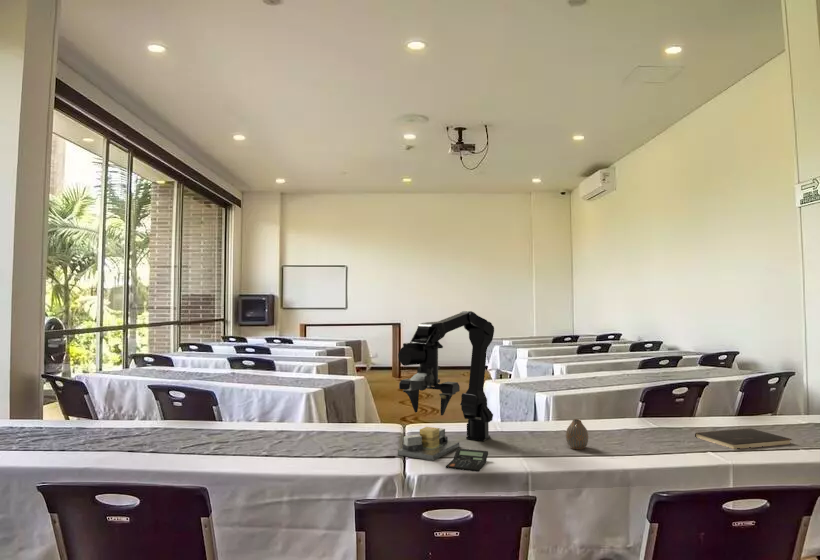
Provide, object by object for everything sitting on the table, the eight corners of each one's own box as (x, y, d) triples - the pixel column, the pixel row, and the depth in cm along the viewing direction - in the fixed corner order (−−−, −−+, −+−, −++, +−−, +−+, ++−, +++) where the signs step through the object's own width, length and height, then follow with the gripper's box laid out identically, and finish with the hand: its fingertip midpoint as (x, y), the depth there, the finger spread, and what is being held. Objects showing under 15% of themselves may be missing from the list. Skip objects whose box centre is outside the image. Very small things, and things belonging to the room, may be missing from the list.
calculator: (445, 469, 153) (445, 458, 153) (457, 458, 164) (457, 447, 164) (478, 472, 150) (478, 461, 150) (488, 461, 161) (488, 450, 161)
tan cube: (439, 444, 172) (439, 428, 172) (432, 447, 168) (432, 431, 168) (426, 442, 174) (426, 426, 175) (419, 445, 170) (419, 429, 171)
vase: (577, 452, 169) (576, 423, 170) (561, 446, 175) (560, 419, 176) (593, 449, 173) (593, 420, 173) (577, 444, 179) (577, 416, 179)
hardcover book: (791, 446, 178) (791, 438, 178) (733, 451, 172) (733, 443, 172) (749, 434, 193) (749, 427, 193) (694, 438, 187) (694, 432, 187)
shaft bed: (459, 446, 176) (459, 430, 176) (433, 460, 160) (433, 442, 160) (426, 442, 182) (426, 426, 182) (397, 455, 166) (397, 437, 166)
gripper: (389, 364, 170) (389, 415, 169) (444, 367, 160) (444, 421, 160) (408, 360, 179) (408, 409, 179) (460, 364, 170) (460, 415, 169)
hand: (428, 413), depth 171 cm, fingers open, 9 cm apart
